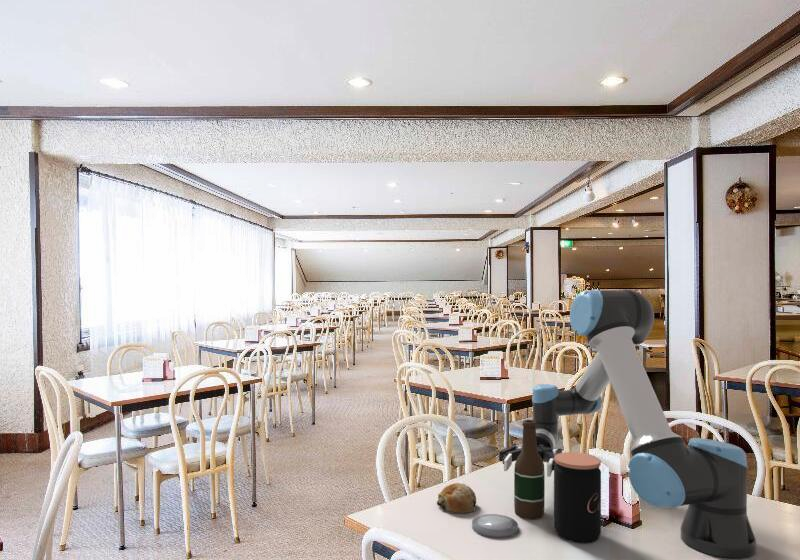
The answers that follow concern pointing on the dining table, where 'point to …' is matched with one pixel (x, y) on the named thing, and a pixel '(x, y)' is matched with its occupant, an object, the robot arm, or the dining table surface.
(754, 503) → the dining table surface
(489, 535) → the dish
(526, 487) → the beer bottle
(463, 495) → the bread roll
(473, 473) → the dining table surface
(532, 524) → the dining table surface
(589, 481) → the coffee jar
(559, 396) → the robot arm
